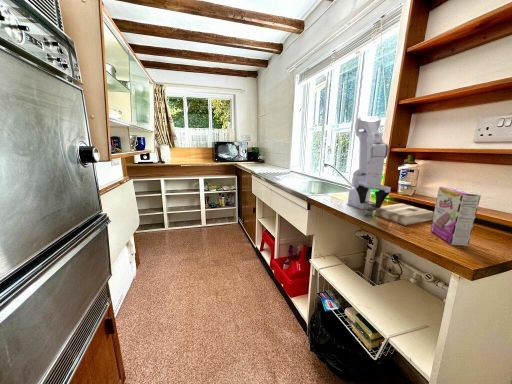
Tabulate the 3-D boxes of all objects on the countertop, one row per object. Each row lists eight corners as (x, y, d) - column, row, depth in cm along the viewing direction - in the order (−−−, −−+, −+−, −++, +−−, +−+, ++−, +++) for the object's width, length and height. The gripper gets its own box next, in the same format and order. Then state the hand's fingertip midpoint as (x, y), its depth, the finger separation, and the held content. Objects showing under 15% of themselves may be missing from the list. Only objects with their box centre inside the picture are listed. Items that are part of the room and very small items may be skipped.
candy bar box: (428, 231, 76) (438, 186, 72) (444, 232, 75) (455, 187, 71) (449, 245, 65) (462, 193, 61) (469, 247, 64) (482, 194, 60)
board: (374, 214, 93) (375, 207, 92) (400, 210, 99) (401, 203, 98) (405, 225, 81) (406, 216, 80) (431, 219, 87) (433, 211, 87)
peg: (358, 214, 92) (360, 201, 91) (367, 213, 94) (369, 200, 93) (369, 218, 88) (371, 205, 87) (377, 217, 90) (379, 203, 88)
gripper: (352, 172, 92) (349, 202, 95) (383, 176, 79) (378, 211, 82) (364, 171, 95) (360, 200, 98) (396, 175, 82) (390, 209, 85)
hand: (369, 205), depth 90 cm, fingers open, 7 cm apart
